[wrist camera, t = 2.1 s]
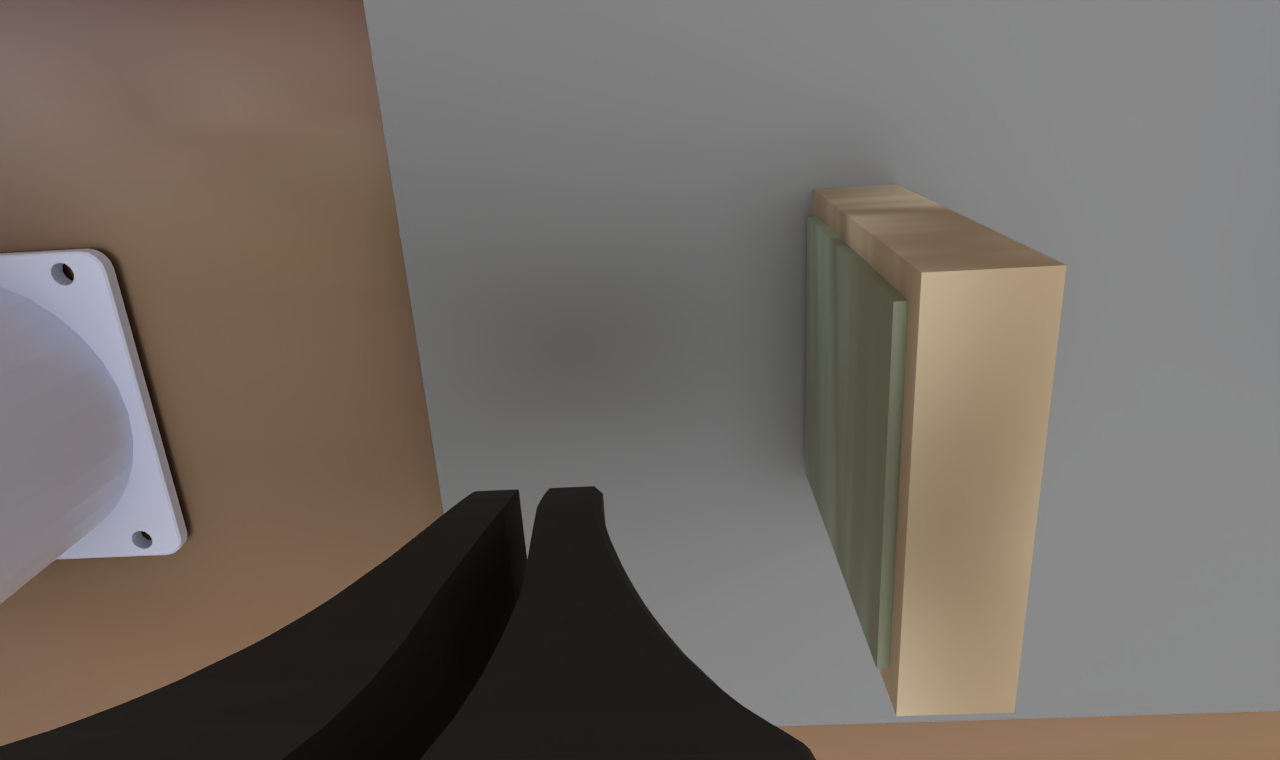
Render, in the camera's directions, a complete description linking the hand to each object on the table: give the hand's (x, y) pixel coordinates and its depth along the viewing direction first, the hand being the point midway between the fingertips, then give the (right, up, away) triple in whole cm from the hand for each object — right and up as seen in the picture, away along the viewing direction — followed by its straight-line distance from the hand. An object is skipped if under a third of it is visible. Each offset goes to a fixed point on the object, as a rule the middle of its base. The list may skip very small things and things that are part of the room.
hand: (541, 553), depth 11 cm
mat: (+7, +4, +8) cm, 12 cm away
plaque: (+6, +3, +8) cm, 10 cm away
